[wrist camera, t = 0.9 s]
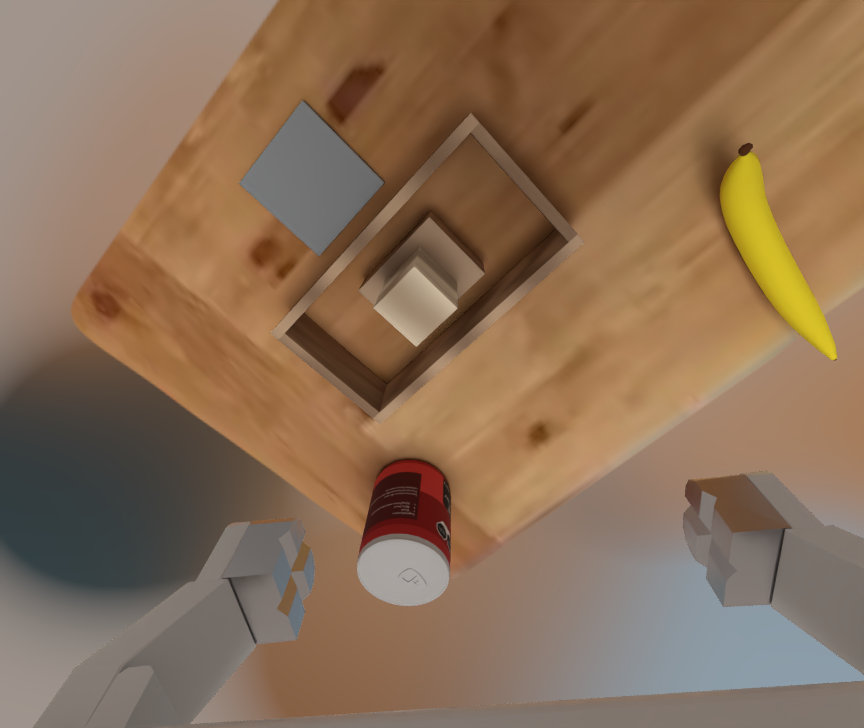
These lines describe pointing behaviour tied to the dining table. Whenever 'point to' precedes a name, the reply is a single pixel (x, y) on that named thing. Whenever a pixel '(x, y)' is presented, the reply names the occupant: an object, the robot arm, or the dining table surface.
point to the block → (418, 297)
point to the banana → (770, 251)
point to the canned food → (407, 535)
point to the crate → (453, 259)
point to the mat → (311, 179)
